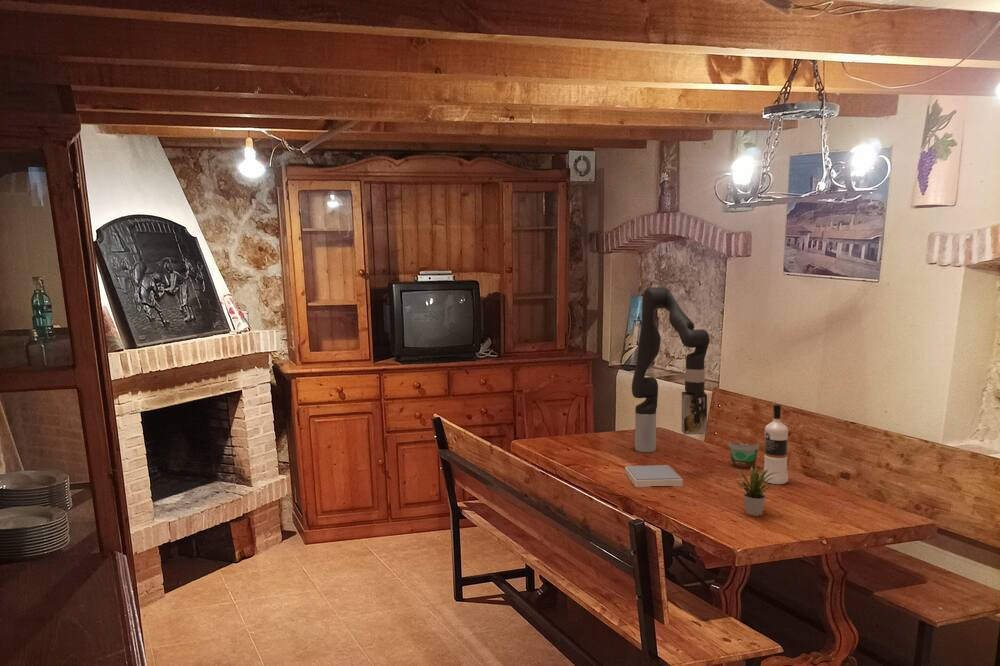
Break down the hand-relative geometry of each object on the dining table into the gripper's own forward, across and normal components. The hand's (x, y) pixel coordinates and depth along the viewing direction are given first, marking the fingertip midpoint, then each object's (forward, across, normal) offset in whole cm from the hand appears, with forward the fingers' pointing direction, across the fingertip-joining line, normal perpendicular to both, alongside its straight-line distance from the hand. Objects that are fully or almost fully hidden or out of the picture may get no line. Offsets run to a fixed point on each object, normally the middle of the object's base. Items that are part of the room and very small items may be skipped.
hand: (694, 420), depth 278 cm
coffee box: (+5, 0, 0) cm, 5 cm away
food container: (+22, -7, +23) cm, 33 cm away
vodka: (+22, +12, +28) cm, 38 cm away
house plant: (+22, +46, +7) cm, 51 cm away
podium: (+22, +6, -18) cm, 29 cm away
